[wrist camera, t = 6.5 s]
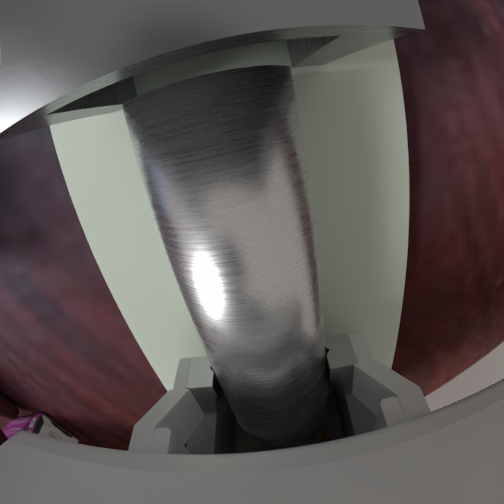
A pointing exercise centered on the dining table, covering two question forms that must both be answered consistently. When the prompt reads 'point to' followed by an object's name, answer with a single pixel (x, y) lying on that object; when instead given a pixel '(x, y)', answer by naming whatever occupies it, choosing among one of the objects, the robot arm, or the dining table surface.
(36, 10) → the dark grey cube cap
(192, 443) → the socket
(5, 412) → the icecream
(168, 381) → the board
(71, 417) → the dining table surface
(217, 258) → the tube
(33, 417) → the candy bar box
